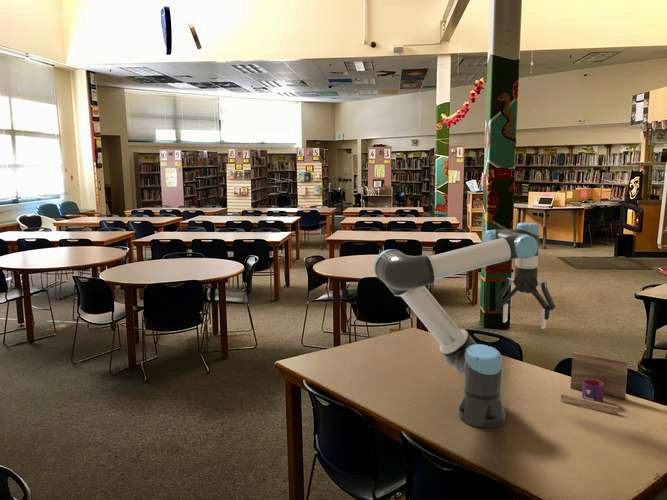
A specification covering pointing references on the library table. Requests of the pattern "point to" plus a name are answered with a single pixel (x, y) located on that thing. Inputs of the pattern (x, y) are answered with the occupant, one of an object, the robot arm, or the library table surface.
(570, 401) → the cleat ledge
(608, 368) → the wall board
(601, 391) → the mug
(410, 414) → the library table surface
